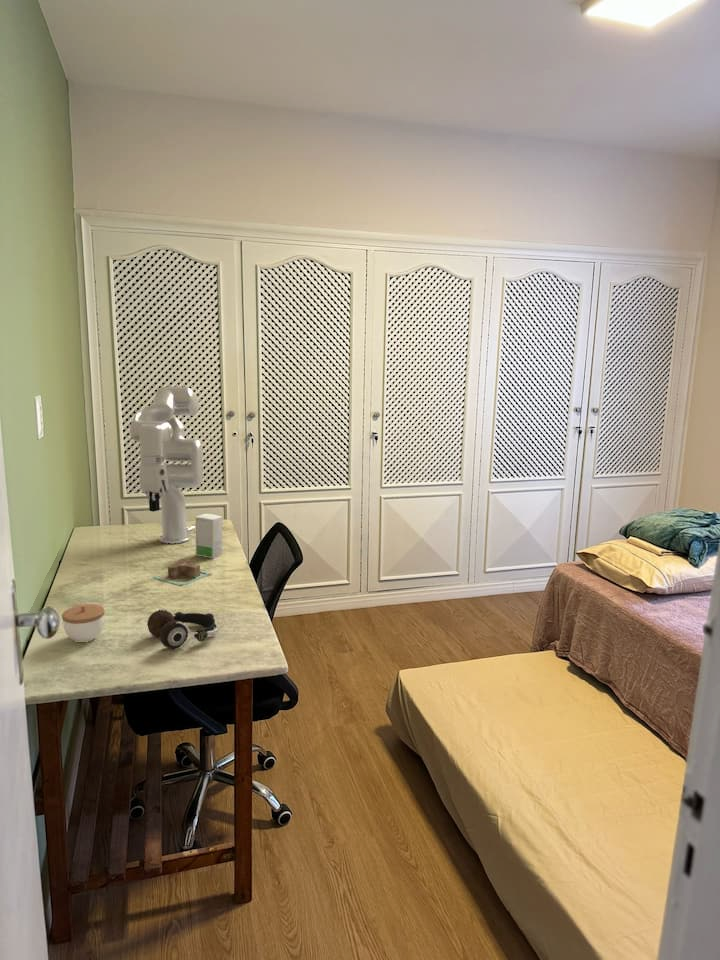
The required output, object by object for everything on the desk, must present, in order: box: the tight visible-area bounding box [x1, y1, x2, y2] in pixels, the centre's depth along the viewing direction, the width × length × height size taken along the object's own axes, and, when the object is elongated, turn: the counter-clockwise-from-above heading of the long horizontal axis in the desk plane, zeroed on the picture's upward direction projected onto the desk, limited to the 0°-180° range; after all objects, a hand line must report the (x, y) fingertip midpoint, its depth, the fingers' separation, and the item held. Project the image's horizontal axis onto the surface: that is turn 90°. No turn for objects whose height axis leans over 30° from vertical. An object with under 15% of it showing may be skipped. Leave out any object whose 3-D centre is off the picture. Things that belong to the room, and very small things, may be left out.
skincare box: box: [195, 513, 223, 559], centre depth 248 cm, size 8×7×16 cm
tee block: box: [167, 558, 201, 580], centre depth 228 cm, size 9×9×4 cm
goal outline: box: [153, 570, 211, 587], centre depth 227 cm, size 14×14×1 cm
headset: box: [146, 608, 218, 650], centre depth 181 cm, size 17×8×20 cm
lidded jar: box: [61, 603, 106, 643], centre depth 178 cm, size 11×11×9 cm
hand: (154, 510), depth 230 cm, fingers closed
